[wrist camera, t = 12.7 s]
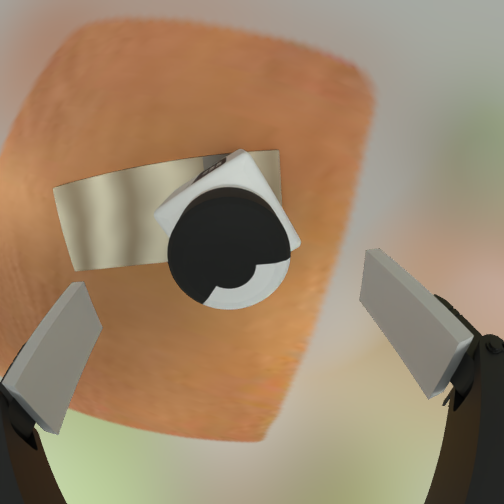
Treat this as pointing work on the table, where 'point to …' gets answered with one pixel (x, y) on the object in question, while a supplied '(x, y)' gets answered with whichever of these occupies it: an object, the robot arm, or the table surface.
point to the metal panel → (133, 209)
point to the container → (227, 235)
